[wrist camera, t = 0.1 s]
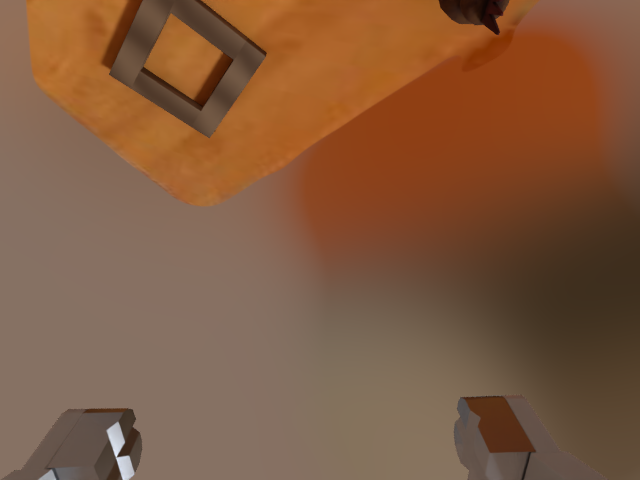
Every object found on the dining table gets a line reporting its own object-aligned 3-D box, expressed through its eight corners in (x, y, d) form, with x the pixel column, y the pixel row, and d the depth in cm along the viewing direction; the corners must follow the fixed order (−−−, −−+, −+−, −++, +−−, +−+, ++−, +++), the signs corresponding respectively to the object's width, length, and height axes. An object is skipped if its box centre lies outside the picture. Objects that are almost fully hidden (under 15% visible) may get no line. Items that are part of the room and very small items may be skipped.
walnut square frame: (160, -33, 47) (156, -30, 45) (266, 52, 53) (265, 56, 52) (112, 70, 54) (108, 74, 53) (211, 133, 61) (209, 138, 60)
